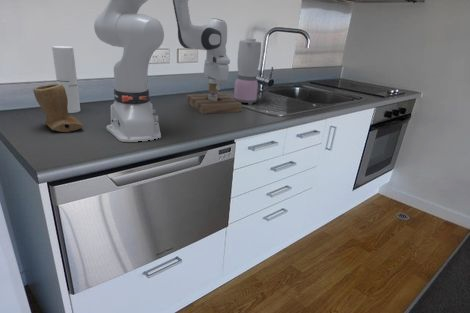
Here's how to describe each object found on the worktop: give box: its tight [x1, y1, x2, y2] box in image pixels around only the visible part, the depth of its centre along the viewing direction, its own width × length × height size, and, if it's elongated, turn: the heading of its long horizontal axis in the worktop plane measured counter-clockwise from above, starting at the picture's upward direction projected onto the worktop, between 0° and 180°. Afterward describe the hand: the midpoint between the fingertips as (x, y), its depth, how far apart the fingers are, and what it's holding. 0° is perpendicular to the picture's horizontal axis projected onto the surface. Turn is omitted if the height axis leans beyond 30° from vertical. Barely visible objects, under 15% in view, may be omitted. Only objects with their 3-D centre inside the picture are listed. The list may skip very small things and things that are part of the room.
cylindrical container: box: [51, 45, 81, 114], centre depth 126 cm, size 7×7×25 cm
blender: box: [233, 37, 262, 106], centre depth 164 cm, size 16×12×32 cm
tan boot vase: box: [33, 83, 84, 133], centre depth 109 cm, size 15×12×15 cm
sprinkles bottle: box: [208, 78, 219, 101], centre depth 152 cm, size 5×5×14 cm
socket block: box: [186, 93, 243, 115], centre depth 153 cm, size 20×20×4 cm
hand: (214, 87), depth 150 cm, fingers open, 8 cm apart
